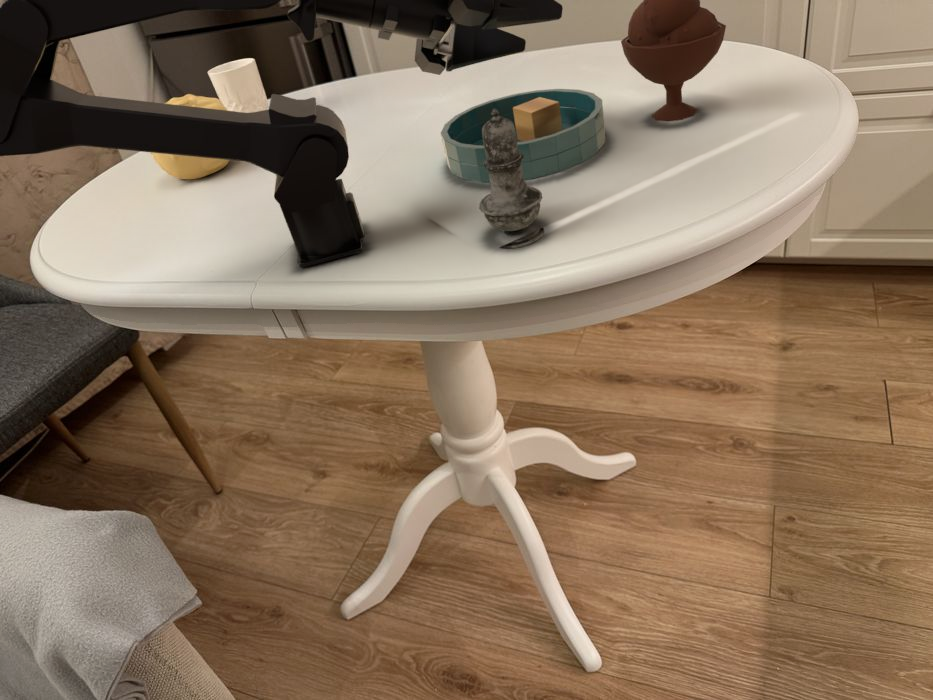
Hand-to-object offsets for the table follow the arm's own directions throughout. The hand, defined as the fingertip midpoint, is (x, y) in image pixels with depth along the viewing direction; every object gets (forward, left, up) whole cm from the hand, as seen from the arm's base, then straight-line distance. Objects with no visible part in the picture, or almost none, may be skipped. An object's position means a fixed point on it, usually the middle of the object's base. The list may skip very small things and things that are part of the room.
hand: (541, 30), depth 64 cm
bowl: (-1, +12, -15) cm, 19 cm away
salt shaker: (-7, -8, -16) cm, 19 cm away
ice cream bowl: (+17, +11, -16) cm, 25 cm away
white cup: (-38, +58, -16) cm, 71 cm away
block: (+2, +14, -15) cm, 20 cm away
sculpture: (-44, +39, -16) cm, 61 cm away
